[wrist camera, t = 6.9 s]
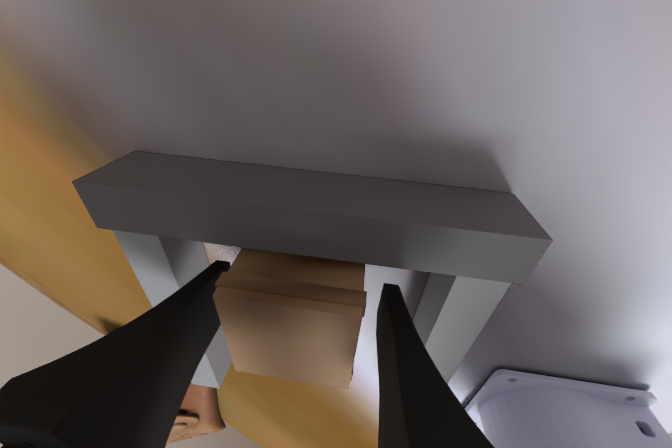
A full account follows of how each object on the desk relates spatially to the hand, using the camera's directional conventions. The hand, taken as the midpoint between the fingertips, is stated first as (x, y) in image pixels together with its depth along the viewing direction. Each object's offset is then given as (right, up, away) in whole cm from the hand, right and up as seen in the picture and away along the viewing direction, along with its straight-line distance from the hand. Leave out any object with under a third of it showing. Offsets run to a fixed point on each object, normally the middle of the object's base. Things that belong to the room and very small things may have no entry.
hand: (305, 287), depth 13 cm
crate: (0, +1, +2) cm, 2 cm away
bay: (0, -2, +4) cm, 4 cm away
